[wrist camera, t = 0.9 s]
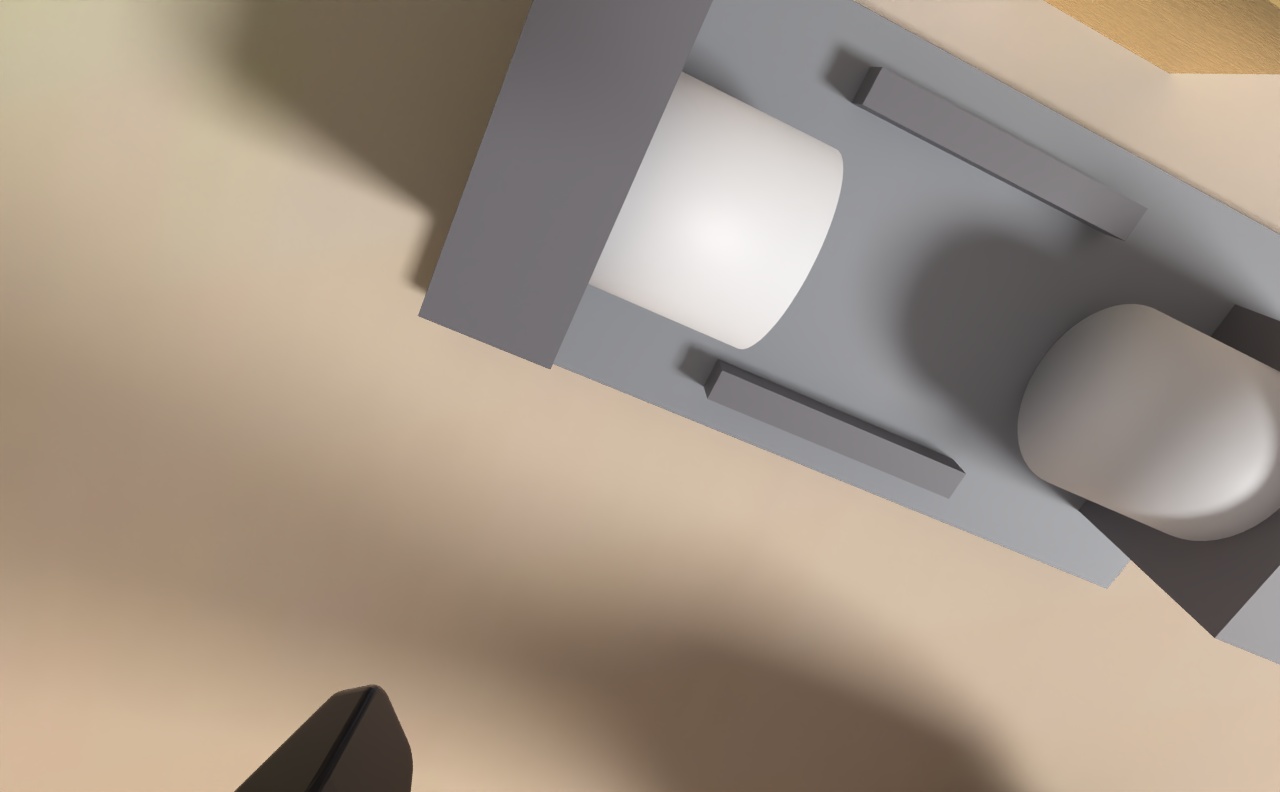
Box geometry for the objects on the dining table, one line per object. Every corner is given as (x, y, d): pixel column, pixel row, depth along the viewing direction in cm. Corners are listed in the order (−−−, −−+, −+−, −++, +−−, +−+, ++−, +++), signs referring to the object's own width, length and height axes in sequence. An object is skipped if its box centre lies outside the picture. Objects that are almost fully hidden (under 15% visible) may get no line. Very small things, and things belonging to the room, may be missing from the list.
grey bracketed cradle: (1324, 267, 20) (1610, 347, 14) (1087, 568, 23) (1242, 729, 18) (611, -120, 16) (614, -225, 10) (449, 307, 20) (385, 405, 14)
